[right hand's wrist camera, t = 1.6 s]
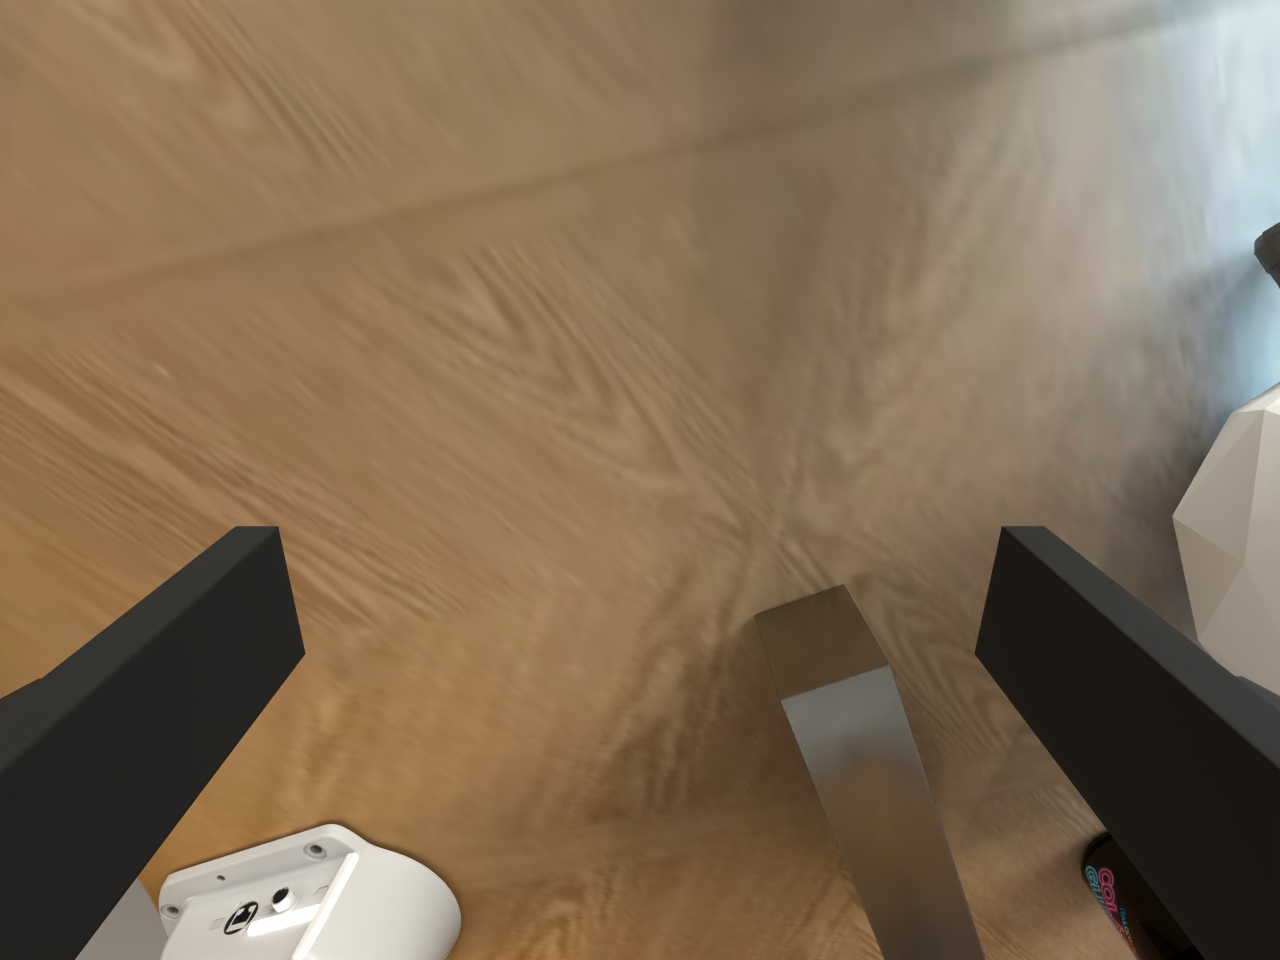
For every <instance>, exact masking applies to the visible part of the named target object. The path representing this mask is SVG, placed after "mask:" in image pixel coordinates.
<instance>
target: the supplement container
mask: <svg viewBox="0 0 1280 960" xmlns="http://www.w3.org/2000/svg"><path fill="white" fill-rule="evenodd" d="M1081 874H1082V878H1083V880H1084V882H1085V884H1086V885H1087V887H1088V888H1089V890H1090V891H1091V893H1092V894H1093V895H1094V897H1095V898H1096V900H1097V901H1098V903H1099V904H1100V906H1101V907H1102V909H1103V910H1104V912H1105V913H1106V915H1107V916H1108V918H1109V919H1110V921H1111V922H1112V923H1113V925H1114V926H1115V928H1116V929H1117V931H1118V932H1119V934H1120V935H1121V937H1122V938H1123V940H1124V941H1125V943H1126V944H1127V946H1128V947H1129V949H1130V950H1131V951H1132V953H1133V954H1134V956H1135V957H1136V959H1137V960H1205V959H1204V957H1203V956H1202V955H1201V953H1200V952H1199V951H1198V949H1197V948H1196V947H1195V945H1194V944H1193V943H1192V941H1191V940H1190V939H1189V937H1188V936H1187V935H1186V933H1185V932H1184V931H1183V930H1182V928H1181V927H1180V926H1179V924H1178V923H1177V922H1176V920H1175V919H1174V918H1173V916H1172V915H1171V914H1170V912H1169V911H1168V910H1167V908H1166V907H1165V906H1164V904H1163V903H1162V902H1161V900H1160V899H1159V898H1158V896H1157V895H1156V894H1155V892H1154V891H1153V890H1152V888H1151V887H1150V886H1149V884H1148V883H1147V882H1146V880H1145V879H1144V878H1143V876H1142V875H1141V874H1140V872H1139V871H1138V870H1137V868H1136V867H1135V866H1134V864H1133V863H1132V862H1131V861H1130V859H1129V858H1128V857H1127V855H1126V854H1125V853H1124V851H1123V850H1122V849H1121V847H1120V846H1119V845H1118V843H1117V842H1116V841H1115V839H1114V838H1113V837H1112V835H1111V834H1110V833H1109V832H1107V833H1105V834H1103V835H1101V836H1100V837H1098V838H1097V839H1095V840H1094V841H1093V842H1092V843H1091V844H1090V845H1089V846H1088V847H1087V849H1086V850H1085V852H1084V854H1083V856H1082V860H1081Z"/></svg>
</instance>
